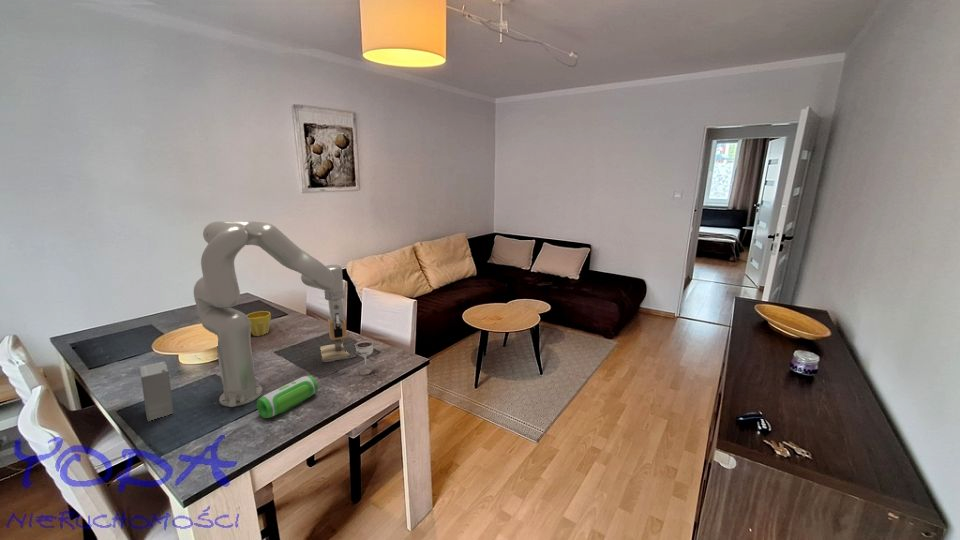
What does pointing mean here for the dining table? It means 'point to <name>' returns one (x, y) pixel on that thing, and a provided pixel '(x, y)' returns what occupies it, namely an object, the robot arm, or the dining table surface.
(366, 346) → the wineglass
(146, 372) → the skincare box
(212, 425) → the dining table surface
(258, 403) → the speaker
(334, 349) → the holder
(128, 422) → the dining table surface
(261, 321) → the plant pot
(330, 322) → the tan block
